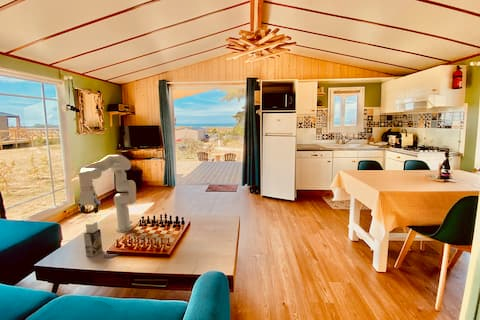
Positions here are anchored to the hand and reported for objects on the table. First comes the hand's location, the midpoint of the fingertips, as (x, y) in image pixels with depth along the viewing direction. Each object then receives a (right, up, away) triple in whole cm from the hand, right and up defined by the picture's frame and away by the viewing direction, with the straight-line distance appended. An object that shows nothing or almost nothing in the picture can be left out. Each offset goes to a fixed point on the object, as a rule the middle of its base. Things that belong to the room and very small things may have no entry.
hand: (90, 212), depth 189 cm
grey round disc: (+15, -29, 0) cm, 33 cm away
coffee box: (+1, -30, +4) cm, 30 cm away
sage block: (+1, -13, +2) cm, 14 cm away
